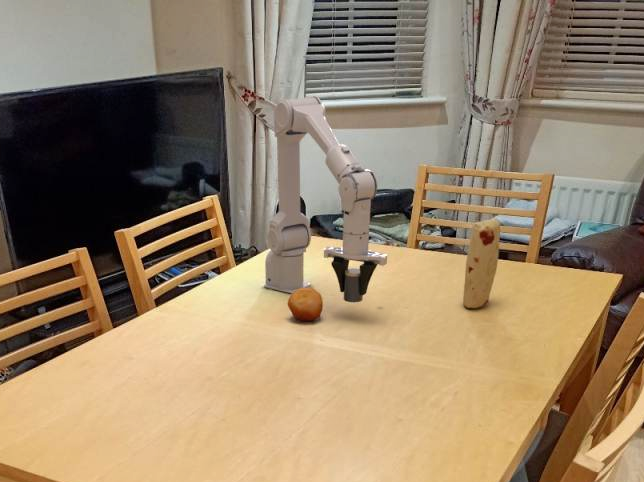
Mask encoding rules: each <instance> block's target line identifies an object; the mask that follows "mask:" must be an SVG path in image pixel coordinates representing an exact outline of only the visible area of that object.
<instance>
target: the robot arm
mask: <svg viewBox="0 0 644 482" xmlns="http://www.w3.org/2000/svg"><path fill="white" fill-rule="evenodd" d="M273 124H274V125H273V129H274V137H275V138H276V149H277V150H276V151H277V187H278V189H277V190H278V191H277V192H278V194H277V195H278V212H277V213H276V214H275V215H274V216H273V217H272V218H271V219H270V220H269V222H268V233H267V236H266V237H267V238H266V240H267V246H268V247H269V249H270V250H269V252H268V253H267V254H266V257H265V263H264V265H265V266H264V267H265V268H264V270H265V284H264V285H263V287H264V288H266V289H270V290H275V291H279V292H283V293H288V294H290V295H291V294H292V293H293V292H294V291H296V290H297V289H299V288H305V287H311V283H308V282H304V267H305V266H304V264H305V263H304V262H305V261H304V258H305V257H304V253H307V248H309V246H310V244H311V241H312V234H311V229H310V225H309V218H308V217H307V216H306V215H305V214H303V213H302V212H301V157H300V156H301V155H300V153H301V152H300V151H301V148H300V145H301V144H300V142H301V141H302V140H303V139H304V138H305V136H306V135H307V134H309V136H310V137H311V138H312V139H313V141H315V143H316V144H317V145H318V147H319V148H320V149H321V151H322V152H323V153H324V155H326V156H325V160H324V161H325V162H324V163H325V165H326V167H327V168H328V170H329V172H330V173H331V174H332V176H333V177H334V179H335V180H336V181H337V183H338V195H339V197H340V200H341V209H342V211H343V222H342V224H343V225H342V247H333V246H327V247H326V246H325V247H324V248H323V258H325V259H329V258H332V259H333V260H332V261H331V262H330V263H331V267H332V268H333V271H334V273H335V275H336V278H337V282H338V285H339V286H338V287H339V292H340V293H344V274H345V271H346V270H347V269H349V264H350V261H353V262H360V263H362V264H360V265H359V269H360V275H361V286H360V295H363V296H365V295H366V294H367V291H368V287H369V284H370V281H371V279H372V276H373V273H374V272H375V270H376V268H377V267H378V265H379V266H382V267H384V266H386V265H387V263H388V254H385V253H381V252H376V251H373V250H370V249H369V243H370V224H371V206H372V205H371V203H372V200H373V199H374V198H375V197H376V195H377V192H378V180H377V177H376V175H375V173H374V171H372V170H370V169H366V167H362V166H361V164H360V163H359V161H358V160H357V158H356V157H355V155H354V153H352V150H351V149H350V147H349V146H348V145H346V144H340V143H339V141H338V139H337V137H336V136H335V134H334V132H333V130H332V128H331V126H330V124H329V123H328V121H327V119H326V107H325V105H324V104H323V102H322V100H321V99H320V97H318V96H310V97H300V98H289V99H286V98H282V99H279V100H278V102H277V104H276V105H275V106H274V108H273Z"/></svg>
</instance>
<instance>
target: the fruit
mask: <svg viewBox="0 0 644 482" xmlns="http://www.w3.org/2000/svg"><path fill="white" fill-rule="evenodd" d="M323 303H324V301H323V297H322V294H321V293H320V292H319V291H317V290H316V289H315V288H314V287H311V286H309V287H305V288H299V289H297V290H296V291H294V292H293V293H292V294H291V293H290V295H289V297H288V299H287V306H288V308H289V310H290V312H291V315H292V316H293V318H294V319H295V321H298V322H310V321H317V320H318V319H320V316H321V314H322V312H323V307H324V304H323Z"/></svg>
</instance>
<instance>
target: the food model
mask: <svg viewBox="0 0 644 482" xmlns="http://www.w3.org/2000/svg"><path fill="white" fill-rule="evenodd" d="M471 228H472V229H471V235H470V239H469V246H468V250H467V256H466V261H465V273H464V284H463V285H464V286H463V287H464V288H463V295H462V296H463V297H462V303H463V306H465V308H468V309H469V308H470V309H471V308H472V309H477V308H480V307H483V306H486V304H488V303H489V300H490V295H491V292H492V288H493V284H494V280H495V276H496V274H497V268H498V262H499V254H500V253H499V251H500V237H501V222H500V221H499V220H498V219H497V218H488V219H486V220H481V221H475V222H473V223H472V227H471Z"/></svg>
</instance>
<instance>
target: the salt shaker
mask: <svg viewBox="0 0 644 482" xmlns="http://www.w3.org/2000/svg"><path fill="white" fill-rule="evenodd" d="M360 286H361V275H360V268H357V267H355V268H354V267H353V268H352V267H351V268H348V269H347V270H346V271H345V274H344V292H343V301H344V302H348V303H359V302H362V301H363V299H364V295H360Z"/></svg>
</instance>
